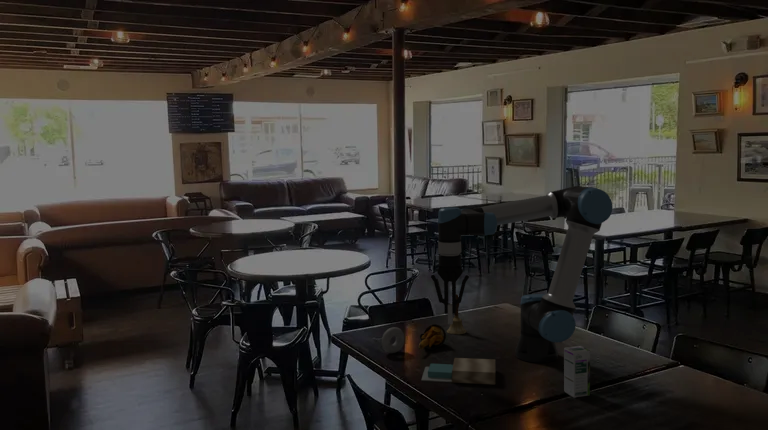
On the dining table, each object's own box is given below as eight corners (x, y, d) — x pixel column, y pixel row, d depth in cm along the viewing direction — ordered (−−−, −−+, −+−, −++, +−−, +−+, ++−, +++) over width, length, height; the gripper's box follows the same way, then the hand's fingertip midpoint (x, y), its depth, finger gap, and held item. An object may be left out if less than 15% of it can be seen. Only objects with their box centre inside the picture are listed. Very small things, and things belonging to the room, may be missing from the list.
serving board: (495, 370, 219) (495, 359, 218) (495, 384, 206) (495, 372, 205) (454, 368, 221) (454, 357, 221) (452, 382, 208) (452, 370, 208)
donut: (385, 356, 235) (384, 330, 234) (379, 354, 238) (379, 328, 237) (406, 351, 241) (406, 326, 240) (401, 349, 244) (400, 324, 243)
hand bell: (443, 330, 269) (443, 293, 267) (461, 328, 271) (461, 291, 270) (451, 335, 261) (451, 297, 259) (469, 333, 263) (469, 296, 262)
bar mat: (454, 368, 221) (454, 367, 221) (451, 382, 208) (451, 381, 208) (425, 367, 223) (425, 366, 223) (421, 380, 210) (421, 379, 210)
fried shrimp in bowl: (452, 331, 251) (444, 329, 234) (439, 356, 250) (431, 356, 233) (431, 320, 254) (422, 317, 237) (419, 345, 253) (409, 344, 236)
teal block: (453, 370, 219) (453, 364, 218) (451, 378, 211) (451, 372, 211) (430, 369, 220) (430, 363, 220) (427, 377, 212) (427, 371, 212)
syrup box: (573, 398, 194) (574, 352, 192) (563, 391, 199) (563, 346, 198) (590, 396, 195) (591, 350, 194) (579, 389, 201) (579, 344, 199)
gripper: (469, 252, 213) (470, 320, 216) (431, 252, 215) (432, 319, 218) (469, 256, 206) (469, 326, 208) (429, 255, 208) (430, 325, 210)
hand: (450, 323), depth 213 cm, fingers closed
